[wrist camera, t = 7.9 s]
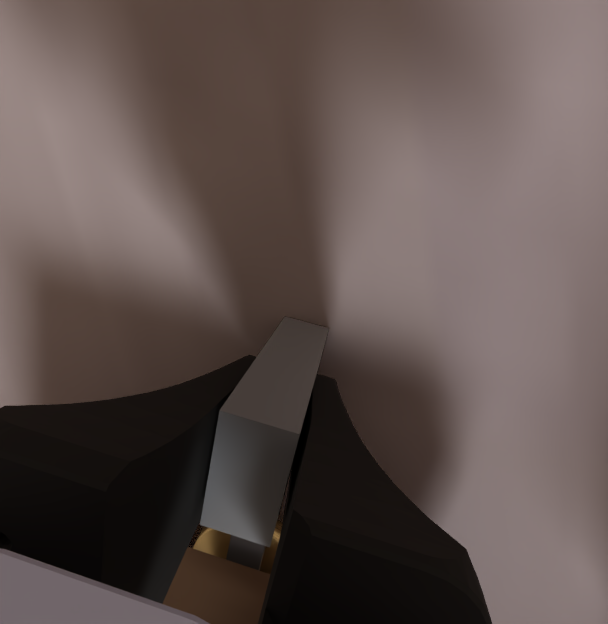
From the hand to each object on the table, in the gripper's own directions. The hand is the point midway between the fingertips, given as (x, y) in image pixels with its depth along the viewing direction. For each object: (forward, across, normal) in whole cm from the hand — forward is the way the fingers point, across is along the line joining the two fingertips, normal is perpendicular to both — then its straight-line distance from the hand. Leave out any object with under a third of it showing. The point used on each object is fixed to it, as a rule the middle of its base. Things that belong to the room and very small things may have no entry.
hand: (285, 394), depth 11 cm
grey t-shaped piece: (+2, 0, +6) cm, 6 cm away
